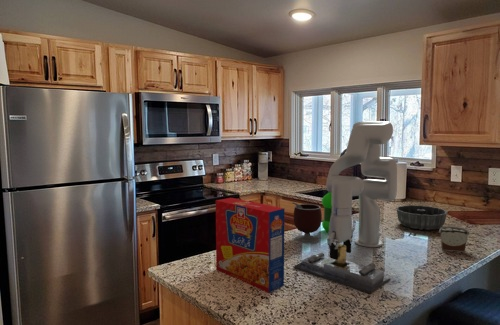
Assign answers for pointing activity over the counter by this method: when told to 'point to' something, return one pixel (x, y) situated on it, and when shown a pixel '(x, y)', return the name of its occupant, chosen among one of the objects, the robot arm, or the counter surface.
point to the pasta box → (250, 242)
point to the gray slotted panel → (345, 273)
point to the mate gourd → (307, 222)
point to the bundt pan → (421, 217)
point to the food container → (453, 238)
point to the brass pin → (341, 256)
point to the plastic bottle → (327, 210)
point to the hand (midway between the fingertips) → (340, 255)
